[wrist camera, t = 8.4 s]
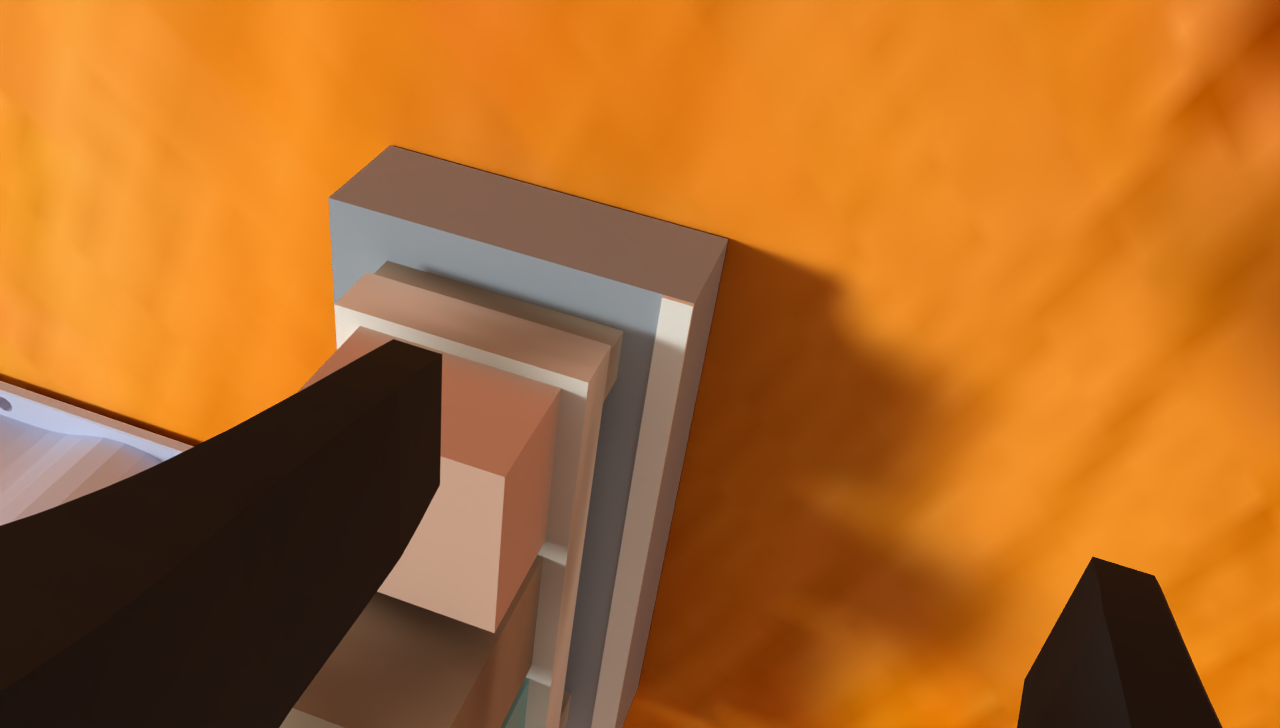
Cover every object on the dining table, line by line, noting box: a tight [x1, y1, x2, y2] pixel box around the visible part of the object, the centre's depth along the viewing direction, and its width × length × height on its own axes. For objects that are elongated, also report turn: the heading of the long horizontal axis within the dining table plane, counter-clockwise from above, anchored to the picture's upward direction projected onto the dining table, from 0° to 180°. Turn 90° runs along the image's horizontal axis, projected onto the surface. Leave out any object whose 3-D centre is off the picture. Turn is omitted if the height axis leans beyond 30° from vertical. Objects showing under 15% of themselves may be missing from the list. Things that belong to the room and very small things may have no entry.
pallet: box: [279, 261, 623, 728], centre depth 23 cm, size 5×13×7 cm, turn 173°
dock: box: [329, 145, 728, 728], centre depth 27 cm, size 8×15×3 cm, turn 173°
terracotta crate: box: [297, 326, 561, 633], centre depth 21 cm, size 4×4×2 cm
